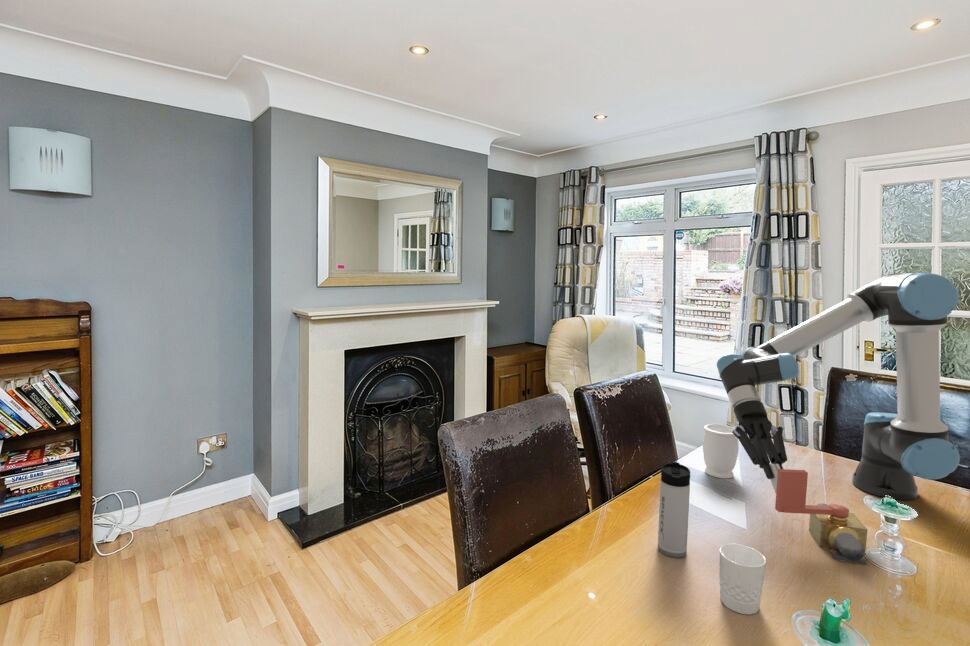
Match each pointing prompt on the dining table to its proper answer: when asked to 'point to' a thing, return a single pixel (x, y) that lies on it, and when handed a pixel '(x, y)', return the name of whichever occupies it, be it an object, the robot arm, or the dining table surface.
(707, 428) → the jar
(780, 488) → the lever
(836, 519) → the valve body
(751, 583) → the white cup
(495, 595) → the dining table surface
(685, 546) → the travel mug
